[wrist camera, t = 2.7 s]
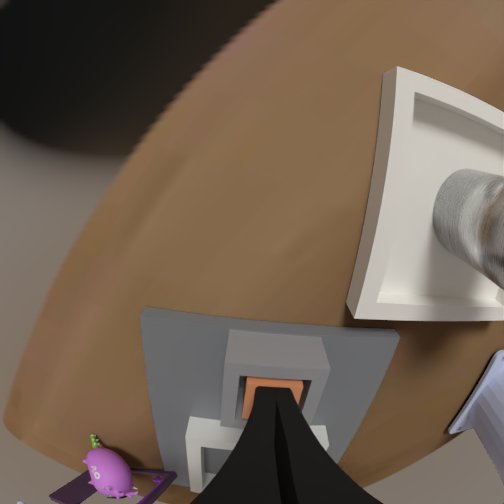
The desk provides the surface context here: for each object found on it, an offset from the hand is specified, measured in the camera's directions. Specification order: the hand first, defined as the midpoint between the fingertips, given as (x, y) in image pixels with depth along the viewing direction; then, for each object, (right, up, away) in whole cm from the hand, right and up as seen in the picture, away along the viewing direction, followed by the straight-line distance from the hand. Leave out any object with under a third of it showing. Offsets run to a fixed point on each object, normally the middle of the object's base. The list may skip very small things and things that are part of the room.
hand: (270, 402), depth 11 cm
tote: (+9, +8, 0) cm, 12 cm away
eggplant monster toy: (-11, -9, +7) cm, 16 cm away
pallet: (-1, -5, +5) cm, 7 cm away
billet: (+9, +8, 0) cm, 12 cm away
